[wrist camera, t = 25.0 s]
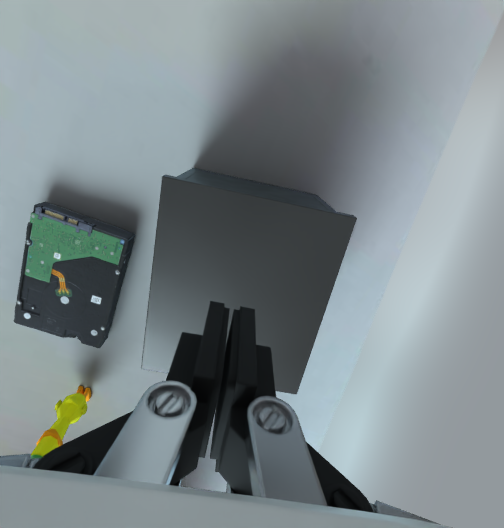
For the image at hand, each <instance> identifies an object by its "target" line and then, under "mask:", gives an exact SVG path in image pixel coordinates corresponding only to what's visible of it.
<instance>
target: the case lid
mask: <svg viewBox="0 0 504 528" xmlns="http://www.w3.org/2000/svg"><path fill="white" fill-rule="evenodd" d="M356 219H357V218H356V217H355V216H353V215H350V214H345V213H340V212H336V211H331V210H326V209H322V208H317V207H313V206H308V205H303V204H299V203H294V202H289V201H285V200H280V199H276V198H271V197H266V196H262V195H257V194H253V193H248V192H243V191H239V190H234V189H229V188H225V187H220V186H216V185H211V184H206V183H202V182H197V181H192V180H188V179H183V178H179V177H174V176H169V175H164V176H163V177H162V185H161V194H160V203H159V212H158V221H157V230H156V239H155V248H154V257H153V266H152V275H151V284H150V293H149V302H148V311H147V320H146V329H145V338H144V347H143V356H142V365H141V369H145V370H151V371H157V372H163V373H169V370H170V367H171V364H172V361H173V358H174V355H175V352H176V349H177V346H178V343H179V340H180V337H181V334H182V332H187V333H192V334H198V335H203V332H204V327H205V323H206V318H207V314H208V310H209V305H210V301H214V302H220V303H225V306H224V307H226V308H230V311H229V320H228V329H227V339H228V334H229V330H230V325H231V320H232V316H233V312H234V309H237V310H239V309H240V306H242V307H247V308H253V309H255V324H256V345H262V346H268V347H270V348H271V353H272V363H273V373H274V382H275V391H279V392H285V393H291V394H297V392H298V389H299V386H300V383H301V380H302V377H303V374H304V371H305V368H306V365H307V362H308V360H309V357H310V354H311V351H312V348H313V345H314V342H315V339H316V336H317V333H318V330H319V327H320V325H321V322H322V319H323V316H324V313H325V310H326V307H327V304H328V301H329V298H330V295H331V292H332V289H333V287H334V284H335V281H336V278H337V275H338V272H339V269H340V266H341V263H342V260H343V257H344V254H345V251H346V249H347V246H348V243H349V240H350V237H351V234H352V231H353V228H354V225H355V222H356ZM227 339H226V343H227Z"/></svg>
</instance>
